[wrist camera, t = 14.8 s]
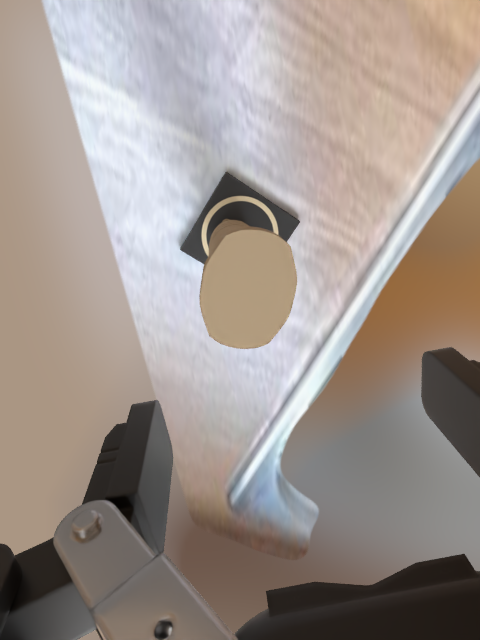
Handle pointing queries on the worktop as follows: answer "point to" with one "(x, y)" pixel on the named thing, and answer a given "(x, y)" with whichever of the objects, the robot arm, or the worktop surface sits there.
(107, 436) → the robot arm
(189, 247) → the slate board
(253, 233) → the handle
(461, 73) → the worktop surface
